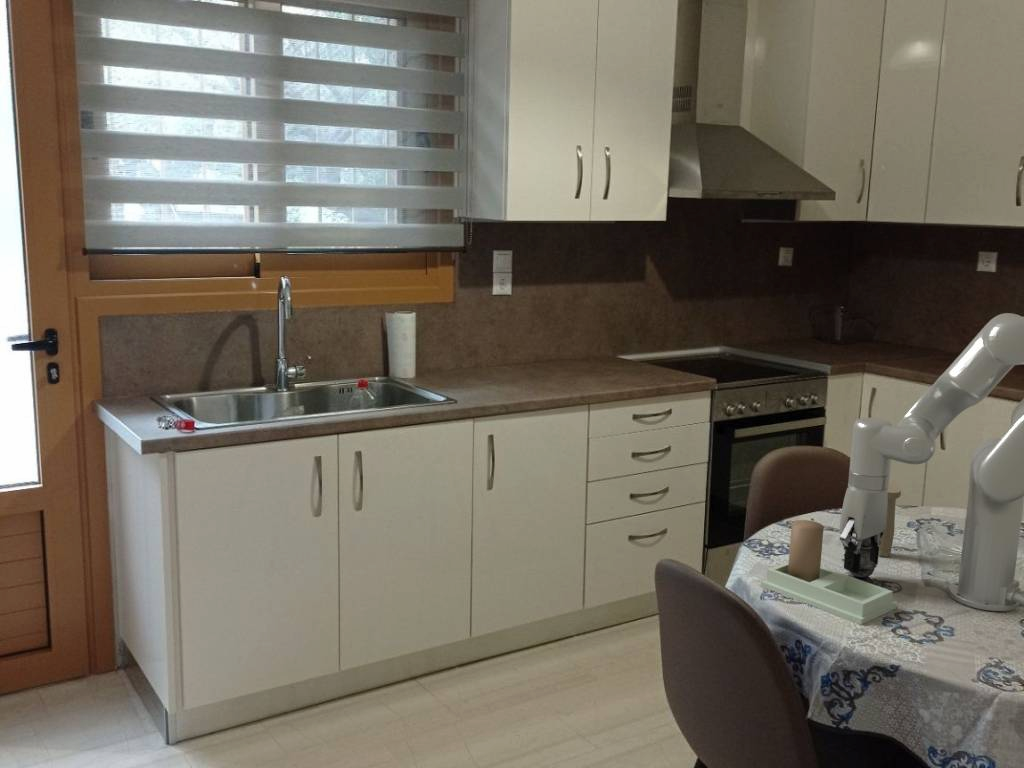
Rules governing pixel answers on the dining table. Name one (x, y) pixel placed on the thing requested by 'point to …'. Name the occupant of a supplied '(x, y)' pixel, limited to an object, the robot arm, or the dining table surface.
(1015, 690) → the dining table surface
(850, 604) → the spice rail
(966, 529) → the robot arm
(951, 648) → the dining table surface
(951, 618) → the dining table surface
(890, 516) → the handle
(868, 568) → the salt shaker
